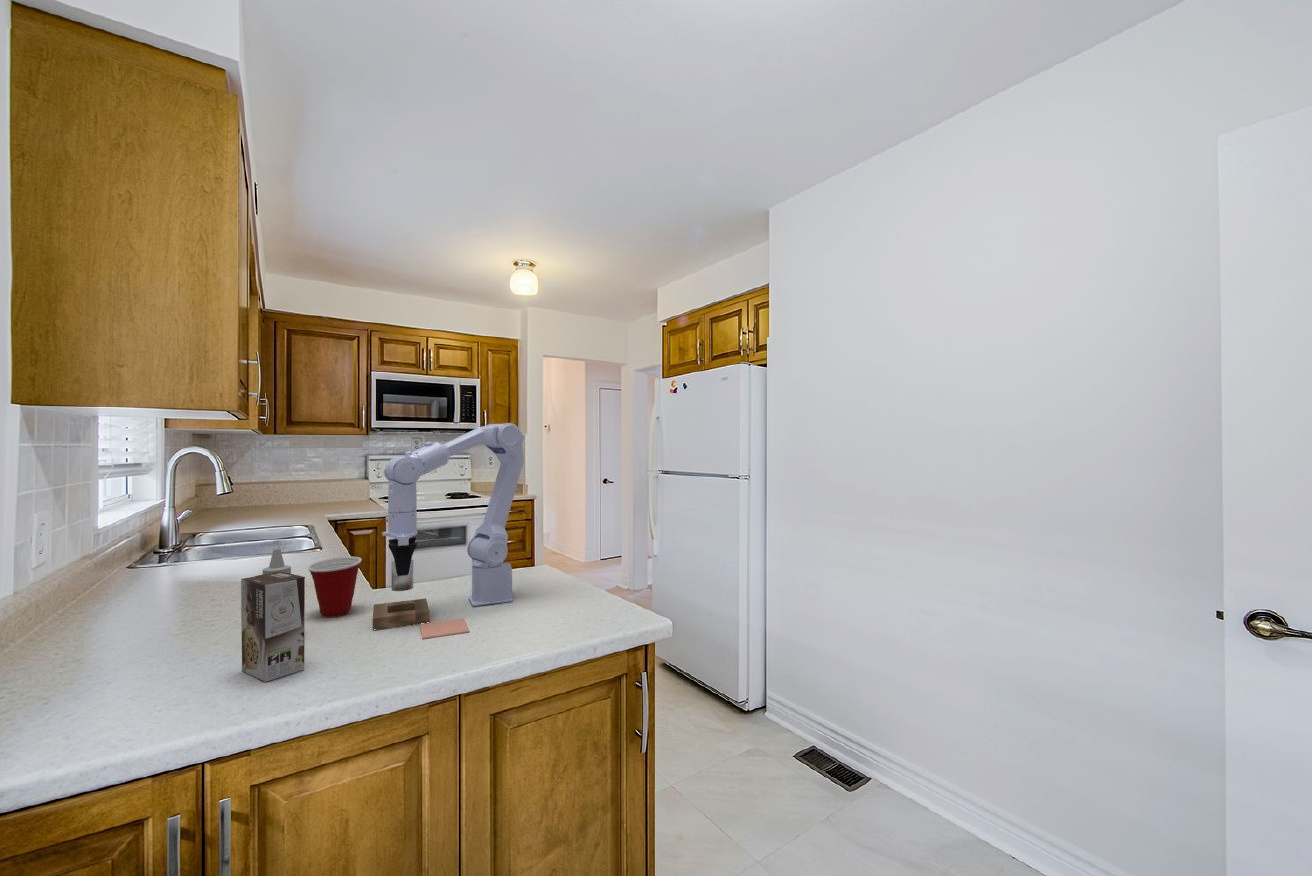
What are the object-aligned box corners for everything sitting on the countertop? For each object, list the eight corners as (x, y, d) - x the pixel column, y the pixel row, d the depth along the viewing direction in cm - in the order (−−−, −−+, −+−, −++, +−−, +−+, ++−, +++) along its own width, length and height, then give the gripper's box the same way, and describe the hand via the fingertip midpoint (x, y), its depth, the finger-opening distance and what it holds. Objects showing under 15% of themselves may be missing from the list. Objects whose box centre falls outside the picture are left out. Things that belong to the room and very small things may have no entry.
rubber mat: (464, 619, 122) (464, 618, 122) (469, 632, 114) (469, 630, 114) (419, 625, 118) (419, 624, 118) (422, 639, 110) (422, 637, 110)
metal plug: (413, 585, 125) (413, 557, 125) (413, 589, 121) (413, 561, 121) (391, 587, 123) (391, 559, 123) (391, 592, 119) (391, 563, 119)
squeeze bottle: (276, 649, 105) (276, 554, 105) (240, 646, 106) (241, 552, 107) (310, 634, 113) (310, 546, 113) (277, 631, 114) (277, 545, 114)
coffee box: (306, 669, 96) (306, 576, 96) (264, 683, 90) (264, 584, 90) (281, 658, 100) (281, 569, 100) (239, 671, 95) (239, 577, 95)
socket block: (426, 609, 130) (426, 598, 130) (429, 622, 120) (429, 611, 120) (373, 615, 125) (373, 604, 125) (372, 630, 115) (372, 618, 115)
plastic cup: (295, 619, 123) (295, 565, 123) (336, 605, 133) (336, 555, 133) (333, 623, 119) (333, 568, 119) (372, 609, 130) (372, 557, 130)
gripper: (382, 508, 127) (382, 567, 127) (382, 516, 114) (382, 582, 114) (416, 507, 130) (416, 564, 130) (419, 514, 117) (419, 578, 117)
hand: (402, 572), depth 122 cm, fingers closed on metal plug, 4 cm apart
